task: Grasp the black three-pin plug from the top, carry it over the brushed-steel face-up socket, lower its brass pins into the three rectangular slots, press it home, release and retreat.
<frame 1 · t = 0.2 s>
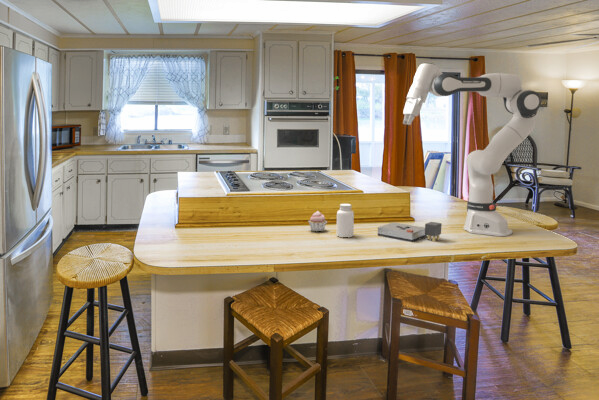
hand: (406, 124, 232), 52 cm above the kitchen island, tool tilted 20°, fingers open, 8 cm apart
plug: (432, 239, 221), on the kitchen island
socket: (402, 235, 228), on the kitchen island
pill bottle: (344, 236, 228), on the kitchen island
cupcake: (317, 231, 238), on the kitchen island
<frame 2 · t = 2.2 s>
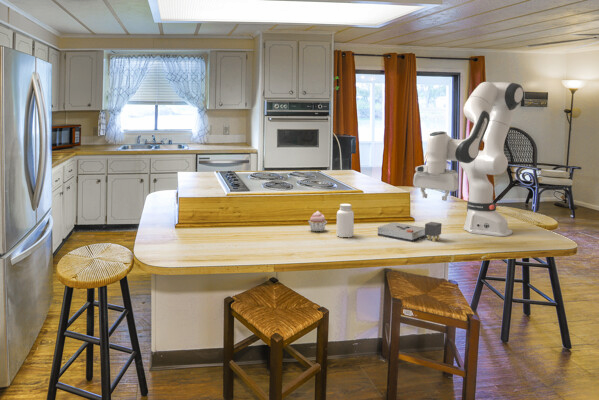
hand: (434, 199, 218), 19 cm above the kitchen island, tool pointing down, fingers open, 8 cm apart
nothing on the kitchen island moved.
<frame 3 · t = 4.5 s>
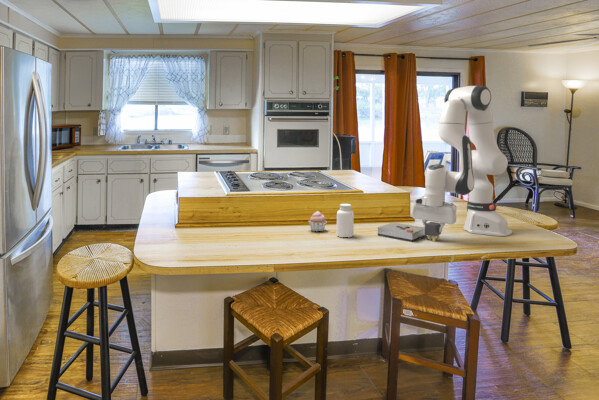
hand: (433, 230, 221), 4 cm above the kitchen island, tool pointing down, fingers closed on plug, 5 cm apart
plug: (432, 239, 221), on the kitchen island, touching gripper
everything else where it was.
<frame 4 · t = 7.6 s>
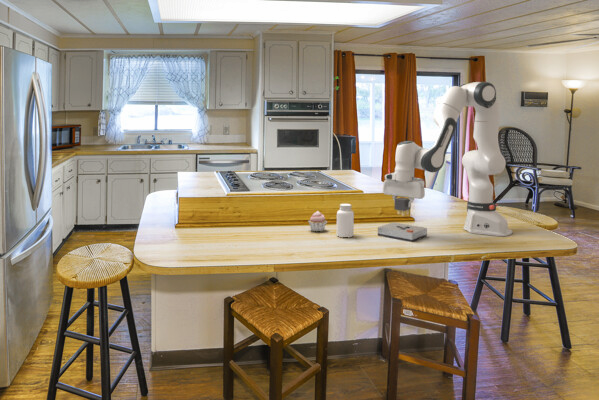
hand: (402, 206, 226), 14 cm above the kitchen island, tool pointing down, fingers closed on plug, 5 cm apart
plug: (402, 214, 226), point 10 cm above the kitchen island, touching gripper
everything else where it was.
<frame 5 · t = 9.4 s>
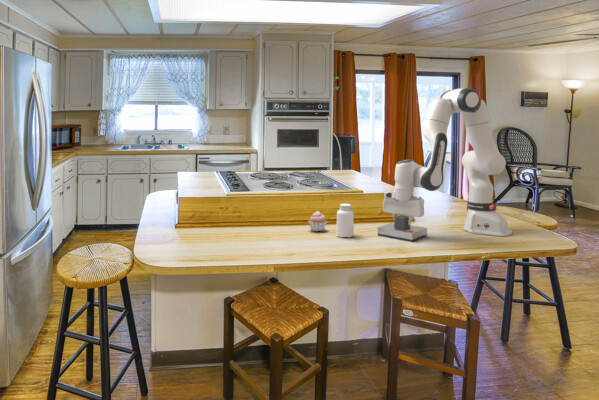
hand: (402, 223, 227), 6 cm above the kitchen island, tool pointing down, fingers closed on plug, 5 cm apart
plug: (402, 232, 228), point 2 cm above the kitchen island, touching gripper
everything else where it was.
when the fingers open (6 cm above the kitchen island, at t = 10.9 s): plug stays where it is, resting on socket.
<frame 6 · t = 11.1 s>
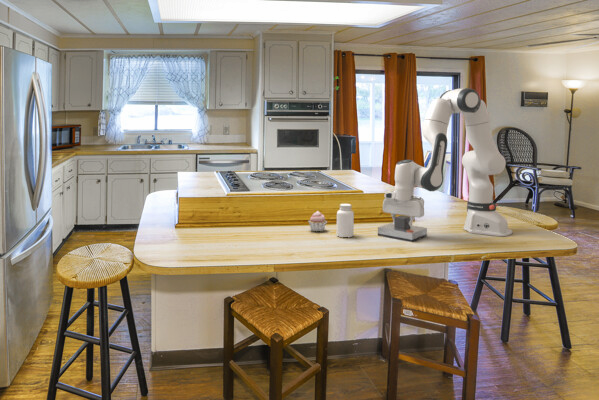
hand: (402, 224, 227), 6 cm above the kitchen island, tool pointing down, fingers open, 6 cm apart
plug: (402, 232, 228), point 1 cm above the kitchen island, touching socket
everything else where it was.
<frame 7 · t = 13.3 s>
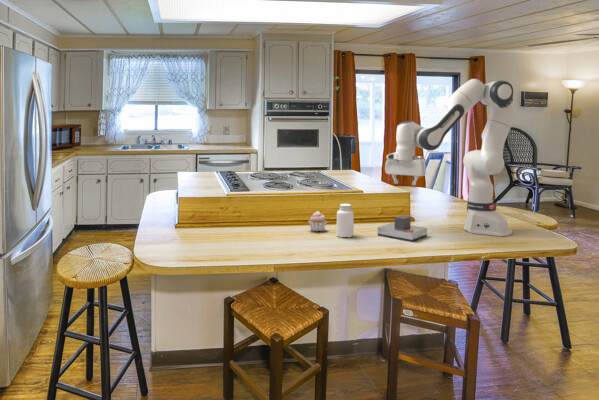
hand: (405, 184, 233), 23 cm above the kitchen island, tool pointing down, fingers open, 8 cm apart
nothing on the kitchen island moved.
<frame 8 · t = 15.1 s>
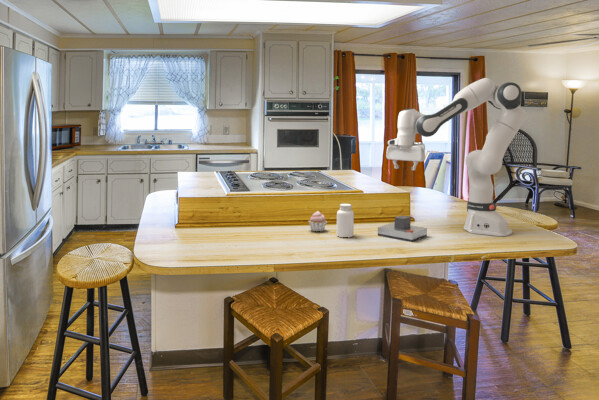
hand: (404, 169, 243), 29 cm above the kitchen island, tool pointing down, fingers open, 8 cm apart
nothing on the kitchen island moved.
at the end: plug 0.0 cm off-centre on the socket, point 1.5 cm above the socket's base; plug tilted 0°; the gripper is holding nothing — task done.
